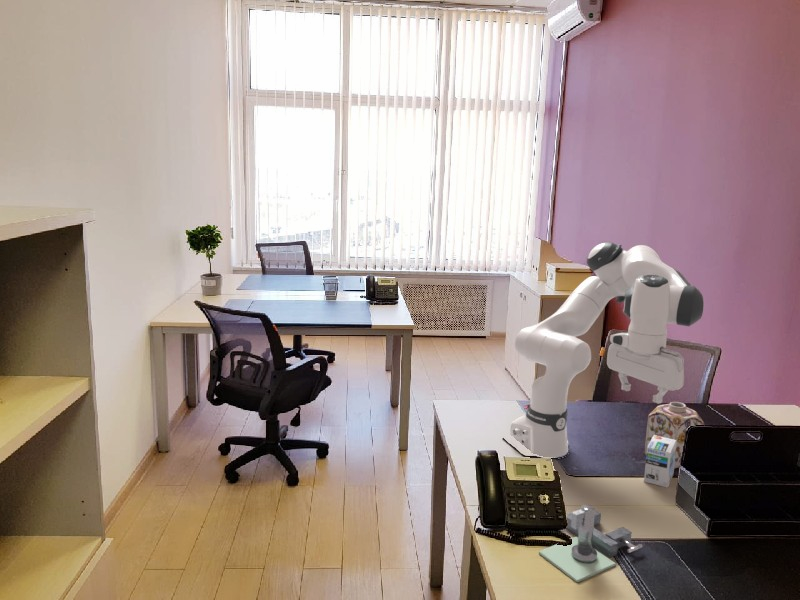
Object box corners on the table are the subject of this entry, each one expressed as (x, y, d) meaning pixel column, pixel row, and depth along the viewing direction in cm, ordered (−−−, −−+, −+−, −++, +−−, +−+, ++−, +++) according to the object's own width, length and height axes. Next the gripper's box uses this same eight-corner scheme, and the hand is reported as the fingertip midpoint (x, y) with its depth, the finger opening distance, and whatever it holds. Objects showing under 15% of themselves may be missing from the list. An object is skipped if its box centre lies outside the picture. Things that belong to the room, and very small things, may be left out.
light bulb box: (668, 488, 174) (671, 453, 172) (642, 482, 178) (646, 447, 175) (674, 473, 183) (677, 439, 181) (650, 467, 186) (653, 434, 184)
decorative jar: (701, 463, 189) (707, 408, 185) (672, 470, 185) (678, 413, 181) (670, 447, 200) (676, 395, 196) (642, 453, 195) (648, 400, 192)
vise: (563, 526, 155) (563, 515, 155) (588, 516, 160) (588, 506, 159) (618, 563, 141) (619, 551, 140) (644, 551, 145) (645, 540, 144)
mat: (538, 553, 144) (538, 551, 144) (575, 538, 150) (575, 536, 150) (577, 582, 134) (577, 580, 134) (615, 565, 140) (615, 563, 140)
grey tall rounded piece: (562, 554, 143) (565, 507, 140) (583, 546, 146) (587, 500, 143) (579, 568, 138) (583, 519, 135) (601, 559, 141) (606, 511, 139)
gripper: (693, 351, 143) (686, 408, 146) (622, 331, 160) (617, 382, 163) (675, 355, 140) (669, 412, 143) (605, 334, 157) (600, 385, 160)
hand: (641, 396), depth 153 cm, fingers open, 8 cm apart
